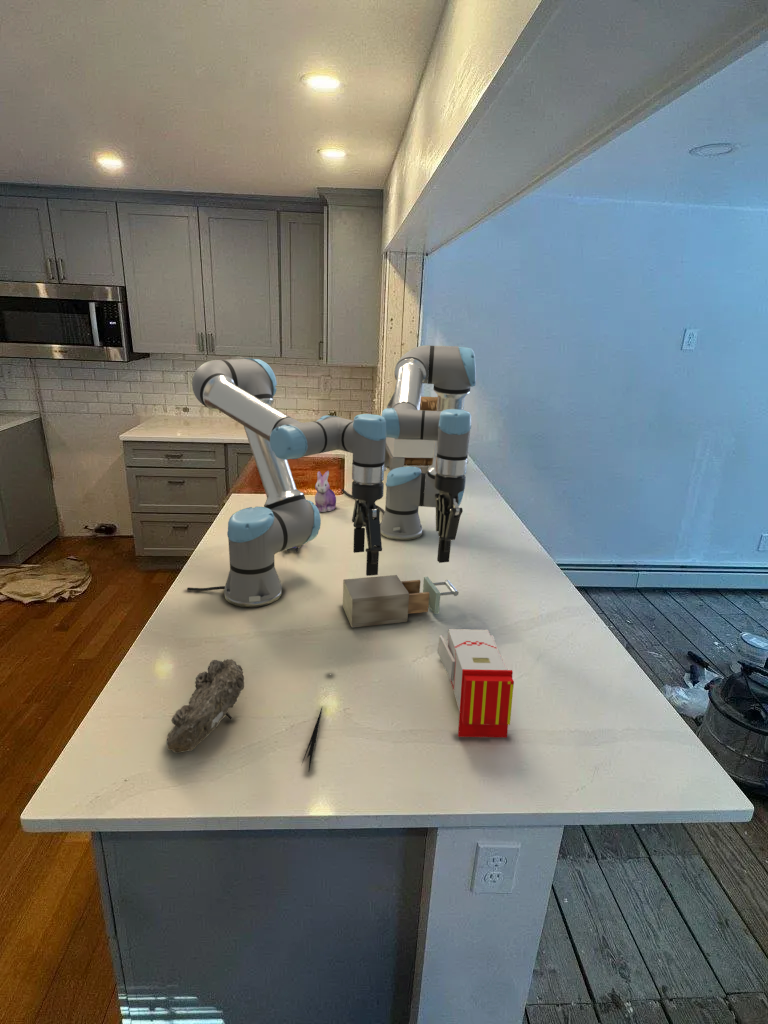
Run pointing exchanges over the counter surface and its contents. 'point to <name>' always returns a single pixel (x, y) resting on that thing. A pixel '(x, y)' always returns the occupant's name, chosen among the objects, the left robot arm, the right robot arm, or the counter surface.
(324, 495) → the figurine
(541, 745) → the counter surface
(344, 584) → the cabinet
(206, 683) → the fossil
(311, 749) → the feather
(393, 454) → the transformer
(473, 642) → the toy
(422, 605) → the drawer
